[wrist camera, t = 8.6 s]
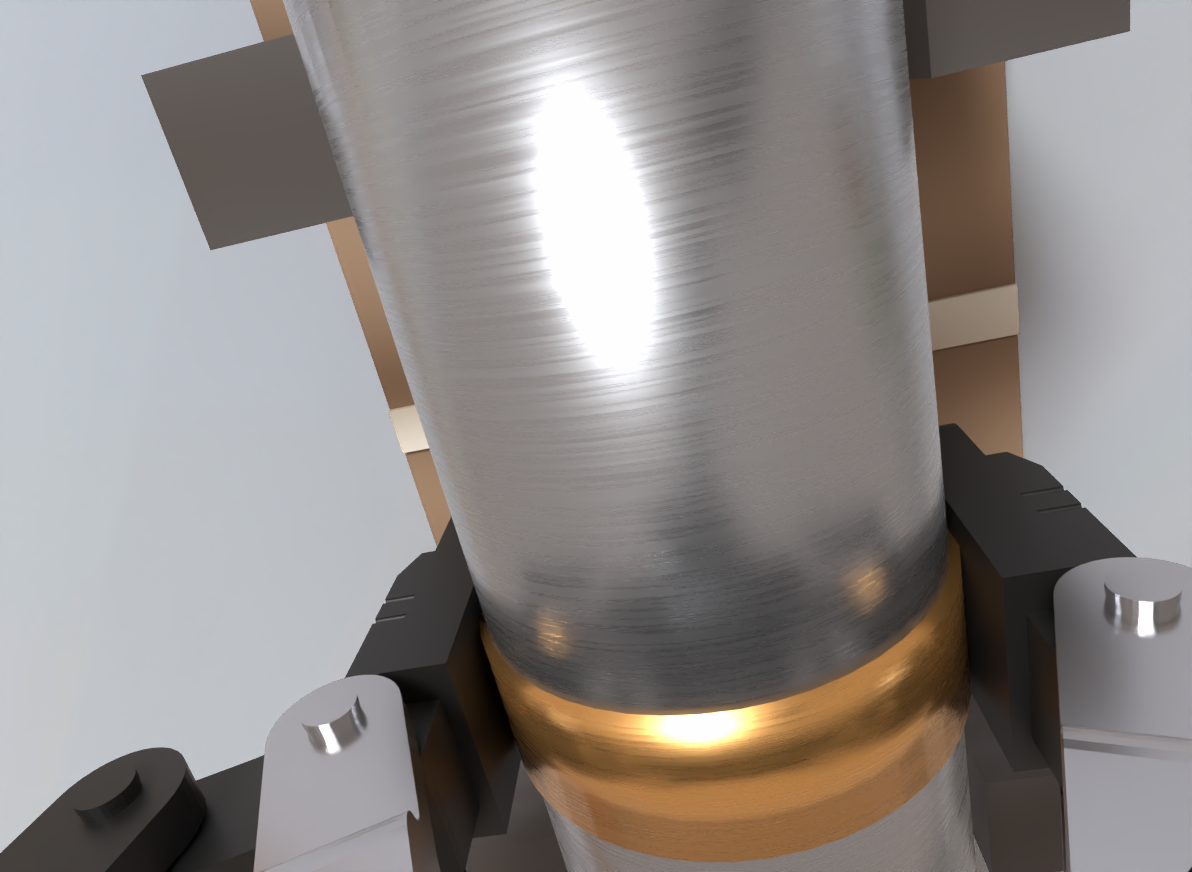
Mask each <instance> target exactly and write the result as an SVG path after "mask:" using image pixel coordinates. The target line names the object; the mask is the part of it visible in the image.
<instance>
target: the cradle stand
mask: <svg viewBox="0 0 1192 872" xmlns="http://www.w3.org/2000/svg"><path fill="white" fill-rule="evenodd" d="M250 2H251V5H252V8H253V11H254V14H255V17H256V19H257V22H258V25H259V28H260V31H261V34H262V37H263V40H264V42H261V43H258V44H254V45H251V46H247V47H243V48H240V49H236V50H232V51H229V52H225V53H221V54H218V55H214V56H210V57H207V58H203V59H199V60H196V61H192V62H188V63H185V64H181V65H178V66H174V67H170V68H167V69H163V70H159V71H156V72H152V73H148V74H145V75H141V76H142V79H143V81H144V84H145V86H146V89H147V91H148V94H149V96H150V99H151V101H152V104H153V106H154V109H155V111H156V114H157V116H158V119H159V121H160V124H161V126H162V129H163V131H164V134H165V137H166V139H167V142H168V144H169V147H170V149H171V152H172V154H173V157H174V159H175V162H176V164H177V167H178V169H179V172H180V174H181V177H182V179H183V182H184V184H185V187H186V189H187V192H188V194H189V197H190V200H191V202H192V205H193V207H194V210H195V212H196V215H197V217H198V220H199V222H200V225H201V227H202V230H203V232H204V235H205V237H206V240H207V242H208V245H209V247H210V250H213V249H217V248H222V247H226V246H230V245H234V244H238V243H243V242H247V241H251V240H255V239H259V238H263V237H268V236H272V235H276V234H280V233H284V232H289V231H293V230H297V229H301V228H305V227H310V226H314V225H318V224H322V223H326V224H327V227H328V230H329V233H330V236H331V239H332V241H333V244H334V247H335V250H336V253H337V256H338V259H339V262H340V265H341V268H342V271H343V274H344V277H345V279H346V282H347V285H348V288H349V291H350V294H351V297H352V300H353V303H354V306H355V309H356V312H357V314H358V317H359V320H360V323H361V326H362V329H363V332H364V335H365V338H366V341H367V344H368V347H369V350H370V352H371V355H372V358H373V361H374V364H375V367H376V370H377V373H378V376H379V379H380V382H381V385H382V388H383V390H384V393H385V396H386V399H387V402H388V405H389V408H390V411H389V415H390V417H391V420H392V423H393V426H394V429H395V432H396V435H397V438H398V441H399V444H400V447H401V450H402V452H403V453H405V455H406V458H407V461H408V463H409V466H410V469H411V472H412V475H413V478H414V481H415V484H416V487H417V490H418V493H419V496H420V499H421V501H422V504H423V507H424V510H425V513H426V516H427V519H428V522H429V525H430V528H431V531H432V534H433V536H434V539H435V542H436V545H437V546H438V544H439V542H440V540H441V537H442V535H443V533H444V531H445V529H446V527H447V524H448V522H449V520H450V518H451V513H450V510H449V507H448V504H447V501H446V498H445V495H444V492H443V489H442V486H441V483H440V480H439V477H438V474H437V471H436V467H435V464H434V461H433V458H432V455H431V452H430V449H429V446H428V443H427V440H426V437H425V434H424V431H423V428H422V425H421V422H420V419H419V415H418V412H417V409H416V406H415V403H414V400H413V397H412V394H411V391H410V388H409V385H408V382H407V379H406V376H405V373H404V370H403V367H402V363H401V360H400V357H399V354H398V351H397V348H396V345H395V342H394V339H393V336H392V333H391V330H390V327H389V324H388V321H387V318H386V315H385V311H384V308H383V305H382V302H381V299H380V296H379V293H378V290H377V287H376V284H375V281H374V278H373V275H372V272H371V269H370V266H369V263H368V259H367V256H366V253H365V250H364V247H363V244H362V241H361V238H360V235H359V232H358V229H357V226H356V223H355V220H354V217H353V214H352V211H351V207H350V204H349V201H348V198H347V195H346V192H345V189H344V186H343V183H342V180H341V177H340V174H339V171H338V168H337V165H336V162H335V159H334V155H333V152H332V149H331V146H330V143H329V140H328V137H327V134H326V131H325V128H324V125H323V122H322V119H321V116H320V113H319V110H318V107H317V103H316V100H315V97H314V94H313V91H312V88H311V85H310V82H309V79H308V76H307V73H306V70H305V67H304V64H303V61H302V58H301V55H300V51H299V48H298V45H297V42H296V39H295V36H294V33H293V30H292V27H291V24H290V21H289V18H288V15H287V12H286V9H285V6H284V3H283V0H250ZM903 12H904V24H905V36H906V47H907V59H908V71H909V83H910V95H911V106H912V118H913V130H914V142H915V154H916V165H917V177H918V189H919V201H920V213H921V224H922V236H923V248H924V260H925V272H926V283H927V295H928V307H929V319H930V331H931V342H932V354H933V366H934V378H935V390H936V401H937V413H938V425H939V426H940V425H945V424H951V423H955V424H957V425H958V426H959V427H960V428H961V429H962V430H963V431H964V432H965V433H966V435H967V436H968V437H969V438H970V439H971V440H972V441H973V442H974V443H975V444H976V446H977V447H978V448H979V449H980V450H981V451H982V452H983V453H984V454H985V455H990V454H996V453H1001V452H1009V453H1012V454H1014V455H1016V456H1019V457H1021V458H1023V445H1022V424H1021V402H1020V381H1019V359H1018V337H1017V334H1020V330H1019V308H1018V286H1017V284H1015V273H1014V251H1013V229H1012V208H1011V186H1010V164H1009V143H1008V121H1007V100H1006V78H1005V61H1006V60H1011V59H1015V58H1019V57H1023V56H1027V55H1032V54H1036V53H1040V52H1044V51H1048V50H1053V49H1057V48H1061V47H1065V46H1069V45H1074V44H1078V43H1082V42H1086V41H1090V40H1095V39H1099V38H1103V37H1107V36H1111V35H1116V34H1120V33H1124V32H1128V31H1130V0H903ZM964 732H965V744H966V756H967V767H968V779H969V791H970V803H971V815H972V826H973V834H974V837H975V839H976V841H977V844H978V846H979V848H980V851H981V853H982V855H983V858H984V860H985V862H986V865H987V867H988V869H989V872H1060V871H1064V868H1063V848H1062V829H1061V804H1060V784H1059V783H1058V781H1057V779H1056V777H1055V776H1054V774H1053V772H1052V771H1051V769H1050V768H1045V769H1037V770H1028V771H1020V772H1013V770H1012V768H1011V766H1010V764H1009V762H1008V760H1007V759H1006V757H1005V755H1004V753H1003V751H1002V749H1001V747H1000V745H999V744H998V742H997V740H996V738H995V736H994V734H993V732H992V730H991V728H990V727H989V725H988V723H987V721H986V719H985V717H984V715H983V713H982V712H981V710H980V708H979V706H978V704H977V702H976V700H975V698H974V696H973V695H972V693H971V699H970V706H969V714H968V718H967V721H966V724H965V726H964ZM467 866H468V869H469V871H470V872H568V871H567V868H566V865H565V862H564V859H563V856H562V853H561V850H560V847H559V844H558V841H557V838H556V835H555V831H554V828H553V825H552V822H551V819H550V816H549V813H548V810H547V807H546V804H545V801H544V798H543V796H542V795H541V794H540V792H539V791H538V790H537V789H536V787H535V785H534V784H533V782H532V780H531V779H530V777H529V775H528V774H527V772H526V770H525V767H524V764H523V762H522V759H521V762H520V767H519V772H518V777H517V783H516V788H515V793H514V798H513V804H512V809H511V814H510V819H509V825H508V830H507V834H503V835H495V836H487V837H479V838H472V842H471V847H470V851H469V855H468V860H467Z"/></svg>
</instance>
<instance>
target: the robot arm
mask: <svg viewBox="0 0 1192 872" xmlns="http://www.w3.org/2000/svg"><path fill="white" fill-rule="evenodd" d="M939 437H940V449H941V460H942V472H943V484H944V496H945V508H946V520H947V528H948V530H949V531H950V533H951V534H952V536H953V537H954V539H955V540H956V542H957V543H958V545H959V546H960V558H961V571H962V583H963V596H964V608H965V621H966V634H967V646H968V659H969V671H970V684H971V693H972V695H973V696H974V698H975V700H976V702H977V704H978V706H979V708H980V710H981V712H982V713H983V715H984V717H985V719H986V721H987V723H988V725H989V727H990V728H991V730H992V732H993V734H994V736H995V738H996V740H997V742H998V744H999V745H1000V747H1001V749H1002V751H1003V753H1004V755H1005V757H1006V759H1007V760H1008V762H1009V764H1010V766H1011V768H1012V770H1013V772H1020V771H1028V770H1037V769H1045V768H1050V769H1051V771H1052V772H1053V774H1054V776H1055V777H1056V779H1057V781H1058V783H1059V784H1060V804H1061V829H1062V848H1063V868H1064V872H1192V568H1190V567H1187V566H1184V565H1181V564H1177V563H1173V562H1169V561H1164V560H1158V559H1151V558H1138V557H1136V556H1135V555H1134V554H1133V553H1132V552H1131V551H1130V550H1129V549H1128V548H1127V547H1126V546H1125V545H1124V544H1123V543H1122V542H1120V541H1119V540H1118V539H1117V538H1116V537H1115V536H1114V535H1113V534H1112V533H1111V532H1110V531H1109V530H1108V529H1107V528H1106V527H1105V526H1104V525H1103V524H1102V523H1101V522H1100V521H1099V520H1098V519H1097V518H1096V517H1095V516H1094V515H1092V514H1091V513H1090V512H1089V511H1088V510H1087V509H1086V508H1082V507H1081V503H1080V502H1079V501H1078V500H1077V499H1076V498H1075V497H1074V496H1073V495H1072V494H1071V493H1070V492H1069V491H1068V490H1065V491H1064V489H1063V486H1062V485H1061V484H1060V483H1059V482H1058V481H1057V480H1056V479H1055V478H1054V477H1053V476H1052V475H1051V474H1050V473H1049V472H1048V471H1047V470H1046V469H1045V468H1044V467H1043V466H1041V465H1039V464H1036V463H1034V462H1031V461H1029V460H1026V459H1024V458H1021V457H1019V456H1016V455H1014V454H1012V453H1009V452H1001V453H996V454H990V455H985V454H984V453H983V452H982V451H981V450H980V449H979V448H978V447H977V446H976V444H975V443H974V442H973V441H972V440H971V439H970V438H969V437H968V436H967V435H966V433H965V432H964V431H963V430H962V429H961V428H960V427H959V426H958V425H957V424H955V423H951V424H945V425H940V426H939ZM385 600H386V604H383V605H382V607H381V609H380V611H379V613H378V615H377V617H376V623H375V624H372V626H371V628H370V630H369V632H368V634H367V636H366V638H365V640H364V642H363V644H362V646H361V648H360V650H359V652H358V654H357V655H356V657H355V659H354V661H353V663H352V665H351V667H350V669H349V671H348V673H347V675H346V677H345V678H344V679H340V680H337V681H334V682H332V683H329V684H327V685H325V686H322V687H320V688H318V689H316V690H315V691H313V692H311V693H309V694H308V695H306V696H305V697H303V698H301V699H300V700H299V701H297V702H296V703H295V704H294V705H292V706H291V707H290V708H289V709H288V710H287V711H286V712H285V713H284V714H283V715H282V716H281V717H280V718H279V719H278V720H277V722H276V723H275V724H274V726H273V727H272V729H271V731H270V733H269V735H268V737H267V741H266V745H265V755H263V756H261V757H258V758H256V759H253V760H251V761H248V762H245V763H243V764H240V765H237V766H235V767H232V768H229V769H227V770H224V771H221V772H218V773H216V774H213V775H210V776H208V777H205V778H202V779H200V780H197V781H196V780H195V779H194V777H193V775H192V773H191V771H190V769H189V767H188V765H187V763H186V761H185V759H184V757H183V755H182V754H180V753H179V752H178V751H176V750H173V749H171V748H163V747H162V748H150V749H144V750H140V751H137V752H133V753H130V754H127V755H125V756H122V757H120V758H117V759H115V760H113V761H111V762H109V763H107V764H105V765H103V766H101V767H100V768H98V769H96V770H94V771H93V772H91V773H90V774H88V775H87V776H85V777H84V778H82V779H81V780H79V781H78V782H77V783H75V784H74V785H73V786H72V787H70V788H69V789H68V790H67V791H66V792H65V793H63V794H62V795H61V796H60V797H59V798H58V799H57V800H56V801H55V802H54V803H53V804H52V805H51V806H50V807H49V808H47V809H46V810H45V811H44V812H43V813H42V814H41V815H40V816H39V817H38V818H37V819H36V820H35V821H34V822H33V823H32V824H31V825H30V826H29V827H28V828H26V829H25V830H24V831H23V832H22V833H21V834H20V835H19V836H18V837H17V838H16V839H15V840H14V841H13V842H12V843H11V844H10V845H9V846H8V847H7V848H6V849H4V850H3V851H2V852H1V853H0V872H470V871H469V869H468V866H467V860H468V855H469V851H470V847H471V842H472V838H479V837H487V836H495V835H503V834H507V830H508V825H509V819H510V814H511V809H512V804H513V798H514V793H515V788H516V783H517V777H518V772H519V767H520V762H521V756H520V753H519V750H518V747H517V744H516V741H515V738H514V735H513V732H512V729H511V726H510V723H509V720H508V717H507V714H506V711H505V708H504V705H503V702H502V699H501V696H500V693H499V690H498V687H497V684H496V681H495V678H494V675H493V672H492V669H491V666H490V663H489V660H488V657H487V654H486V651H485V648H484V645H483V642H482V639H481V636H480V628H479V622H480V619H481V615H482V612H483V611H482V608H481V605H480V602H479V599H478V596H477V593H476V590H475V587H474V584H473V581H472V578H471V575H470V571H469V568H468V565H467V562H466V559H465V556H464V553H463V550H462V547H461V544H460V541H459V538H458V535H457V532H456V529H455V526H454V523H453V519H452V516H451V518H450V520H449V522H448V524H447V527H446V529H445V531H444V533H443V535H442V537H441V540H440V542H439V544H438V546H437V548H436V550H435V551H433V552H427V553H422V554H421V555H420V556H419V557H418V558H416V559H415V560H414V561H413V562H412V563H411V564H410V565H409V566H408V567H407V568H406V569H404V570H403V571H402V572H401V573H400V574H399V575H398V576H397V578H396V580H395V582H394V584H393V586H392V587H391V589H390V591H389V593H388V595H387V597H386V599H385Z"/></svg>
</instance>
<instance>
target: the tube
mask: <svg viewBox="0 0 1192 872" xmlns="http://www.w3.org/2000/svg"><path fill="white" fill-rule="evenodd" d="M283 3H284V6H285V9H286V12H287V15H288V18H289V21H290V24H291V27H292V30H293V33H294V36H295V39H296V42H297V45H298V48H299V51H300V55H301V58H302V61H303V64H304V67H305V70H306V73H307V76H308V79H309V82H310V85H311V88H312V91H313V94H314V97H315V100H316V103H317V107H318V110H319V113H320V116H321V119H322V122H323V125H324V128H325V131H326V134H327V137H328V140H329V143H330V146H331V149H332V152H333V155H334V159H335V162H336V165H337V168H338V171H339V174H340V177H341V180H342V183H343V186H344V189H345V192H346V195H347V198H348V201H349V204H350V207H351V211H352V214H353V217H354V220H355V223H356V226H357V229H358V232H359V235H360V238H361V241H362V244H363V247H364V250H365V253H366V256H367V259H368V263H369V266H370V269H371V272H372V275H373V278H374V281H375V284H376V287H377V290H378V293H379V296H380V299H381V302H382V305H383V308H384V311H385V315H386V318H387V321H388V324H389V327H390V330H391V333H392V336H393V339H394V342H395V345H396V348H397V351H398V354H399V357H400V360H401V363H402V367H403V370H404V373H405V376H406V379H407V382H408V385H409V388H410V391H411V394H412V397H413V400H414V403H415V406H416V409H417V412H418V415H419V419H420V422H421V425H422V428H423V431H424V434H425V437H426V440H427V443H428V446H429V449H430V452H431V455H432V458H433V461H434V464H435V467H436V471H437V474H438V477H439V480H440V483H441V486H442V489H443V492H444V495H445V498H446V501H447V504H448V507H449V510H450V513H451V516H452V519H453V523H454V526H455V529H456V532H457V535H458V538H459V541H460V544H461V547H462V550H463V553H464V556H465V559H466V562H467V565H468V568H469V571H470V575H471V578H472V581H473V584H474V587H475V590H476V593H477V596H478V599H479V602H480V605H481V608H482V611H483V612H482V615H481V619H480V622H479V628H480V636H481V639H482V642H483V645H484V648H485V651H486V654H487V657H488V660H489V663H490V666H491V669H492V672H493V675H494V678H495V681H496V684H497V687H498V690H499V693H500V696H501V699H502V702H503V705H504V708H505V711H506V714H507V717H508V720H509V723H510V726H511V729H512V732H513V735H514V738H515V741H516V744H517V747H518V750H519V753H520V756H521V759H522V762H523V764H524V767H525V770H526V772H527V774H528V775H529V777H530V779H531V780H532V782H533V784H534V785H535V787H536V789H537V790H538V791H539V792H540V794H541V795H542V796H543V798H544V801H545V804H546V807H547V810H548V813H549V816H550V819H551V822H552V825H553V828H554V831H555V835H556V838H557V841H558V844H559V847H560V850H561V853H562V856H563V859H564V862H565V865H566V868H567V871H568V872H976V862H975V850H974V838H973V826H972V815H971V803H970V791H969V779H968V767H967V756H966V744H965V732H964V726H965V724H966V721H967V718H968V714H969V706H970V699H971V684H970V671H969V659H968V646H967V634H966V621H965V608H964V596H963V583H962V571H961V558H960V546H959V545H958V543H957V542H956V540H955V539H954V537H953V536H952V534H951V533H950V531H949V530H948V528H947V520H946V508H945V496H944V484H943V472H942V460H941V449H940V437H939V425H938V413H937V401H936V390H935V378H934V366H933V354H932V342H931V331H930V319H929V307H928V295H927V283H926V272H925V260H924V248H923V236H922V224H921V213H920V201H919V189H918V177H917V165H916V154H915V142H914V130H913V118H912V106H911V95H910V83H909V71H908V59H907V47H906V36H905V24H904V12H903V0H283Z"/></svg>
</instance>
